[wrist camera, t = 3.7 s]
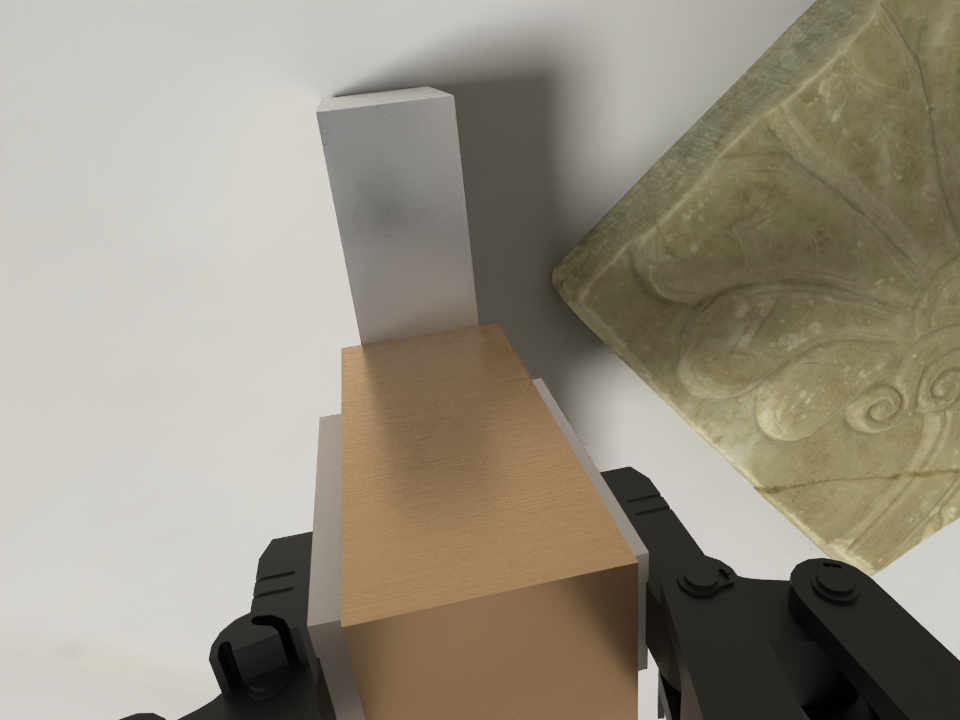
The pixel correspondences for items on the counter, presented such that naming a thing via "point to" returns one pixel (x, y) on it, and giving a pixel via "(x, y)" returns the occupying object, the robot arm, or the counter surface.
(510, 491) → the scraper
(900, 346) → the decorative tile
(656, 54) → the counter surface
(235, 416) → the counter surface
